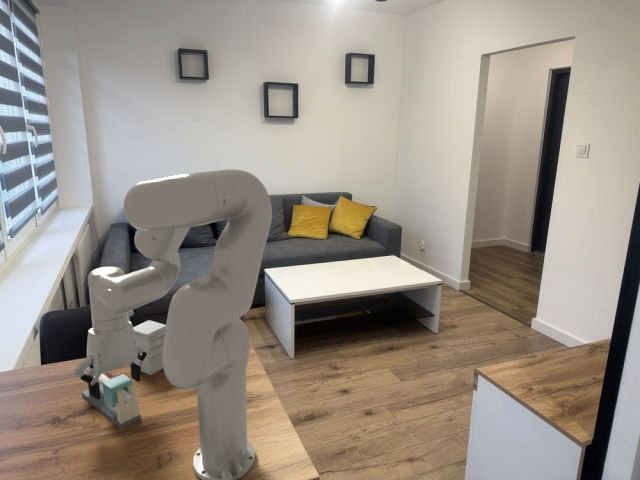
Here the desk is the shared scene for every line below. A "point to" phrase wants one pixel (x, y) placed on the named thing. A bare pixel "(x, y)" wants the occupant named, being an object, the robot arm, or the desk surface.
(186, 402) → the desk surface
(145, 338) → the supplement box
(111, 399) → the sleeve
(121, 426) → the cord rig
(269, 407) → the desk surface
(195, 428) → the desk surface
